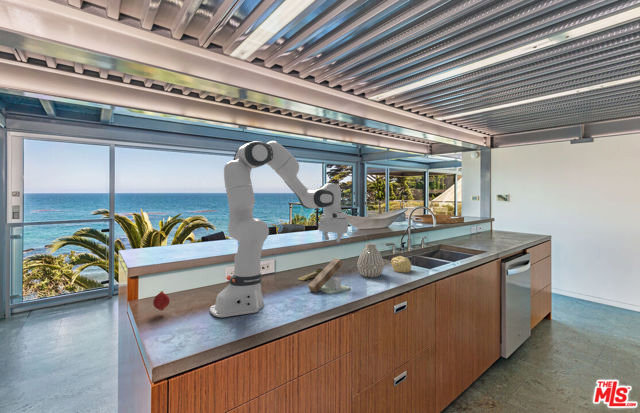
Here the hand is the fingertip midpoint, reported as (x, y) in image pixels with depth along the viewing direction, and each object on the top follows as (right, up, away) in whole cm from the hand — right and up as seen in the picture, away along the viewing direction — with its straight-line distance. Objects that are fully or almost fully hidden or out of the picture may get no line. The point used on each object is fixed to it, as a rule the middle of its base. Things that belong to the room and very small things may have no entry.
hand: (332, 241), depth 152 cm
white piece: (0, -25, 0) cm, 25 cm away
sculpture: (+46, -25, +37) cm, 64 cm away
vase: (+24, -25, +26) cm, 44 cm away
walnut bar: (-2, -17, -2) cm, 18 cm away
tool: (-6, -26, +20) cm, 34 cm away
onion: (-72, -25, -32) cm, 82 cm away
